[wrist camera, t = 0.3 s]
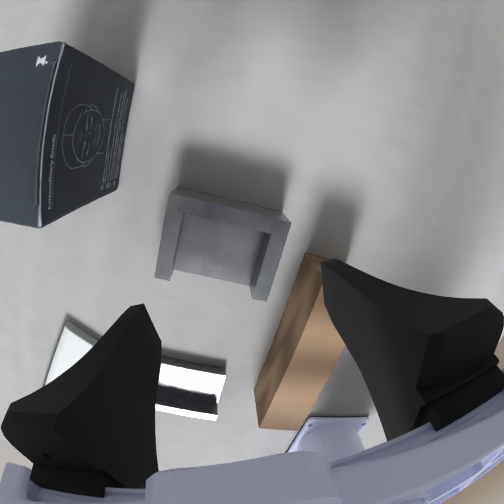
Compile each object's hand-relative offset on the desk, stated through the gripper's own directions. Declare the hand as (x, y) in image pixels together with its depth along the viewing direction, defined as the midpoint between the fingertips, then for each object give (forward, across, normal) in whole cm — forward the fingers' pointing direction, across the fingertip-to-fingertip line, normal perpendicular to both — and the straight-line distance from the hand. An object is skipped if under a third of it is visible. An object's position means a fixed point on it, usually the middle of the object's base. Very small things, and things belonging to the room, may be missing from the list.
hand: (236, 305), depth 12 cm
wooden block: (+10, -4, +11) cm, 15 cm away
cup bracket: (+10, +1, +1) cm, 10 cm away
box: (+12, +8, -8) cm, 16 cm away
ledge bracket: (+9, +7, +13) cm, 18 cm away
